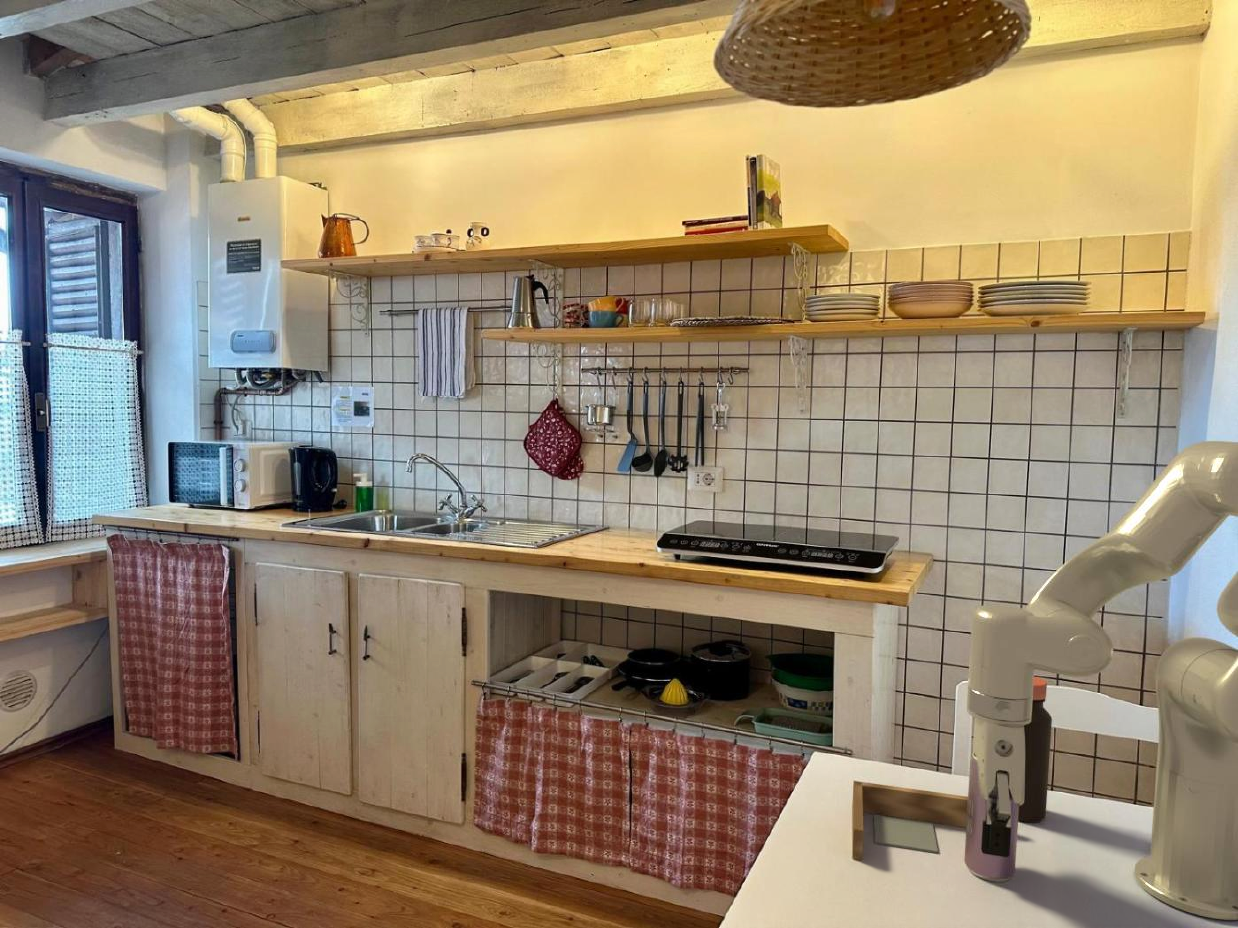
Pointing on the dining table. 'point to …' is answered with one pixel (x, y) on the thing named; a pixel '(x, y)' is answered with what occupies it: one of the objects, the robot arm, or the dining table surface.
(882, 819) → the pad
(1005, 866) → the beverage can
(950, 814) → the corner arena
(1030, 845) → the dining table surface
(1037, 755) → the bottle
